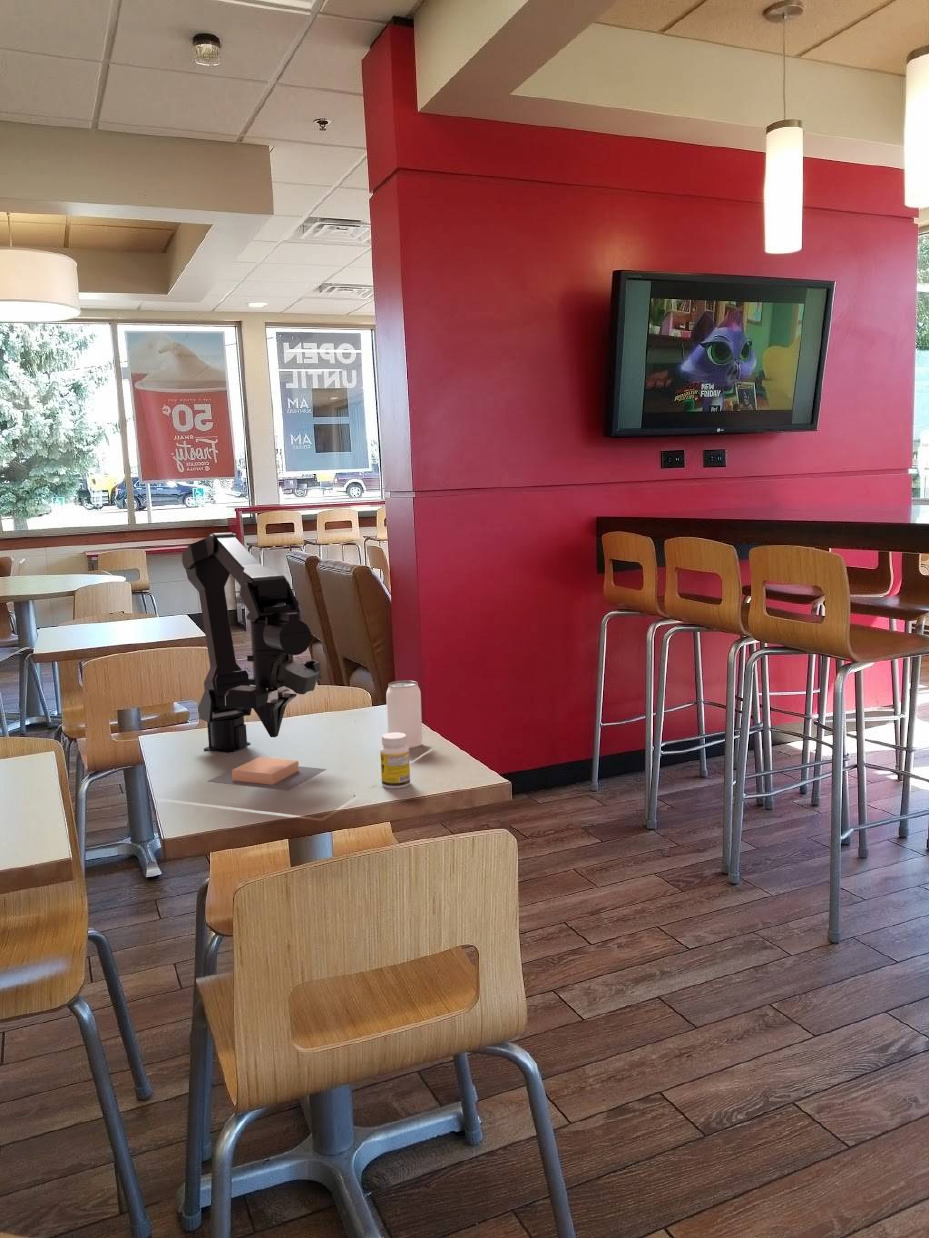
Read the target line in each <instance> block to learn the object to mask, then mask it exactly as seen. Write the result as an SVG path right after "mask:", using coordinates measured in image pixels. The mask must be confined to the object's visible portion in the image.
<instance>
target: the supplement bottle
mask: <svg viewBox="0 0 929 1238" xmlns="http://www.w3.org/2000/svg"><path fill="white" fill-rule="evenodd" d="M406 742H407V740H406V734H404V733H399V732H392V733H388V732H387V733H384V734H382V736H381V745H382V746H381V747H380V753H379V754H380V770H381V771H380V772H381V774H380V775H381V785H382V787H384V788H385V789H391V790H392V789H393V790H395V789H403V788H407V787H409V786H410V784H411V768H410V767H411V766H410V748H408V746H407V745H405V744H406Z"/></svg>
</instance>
